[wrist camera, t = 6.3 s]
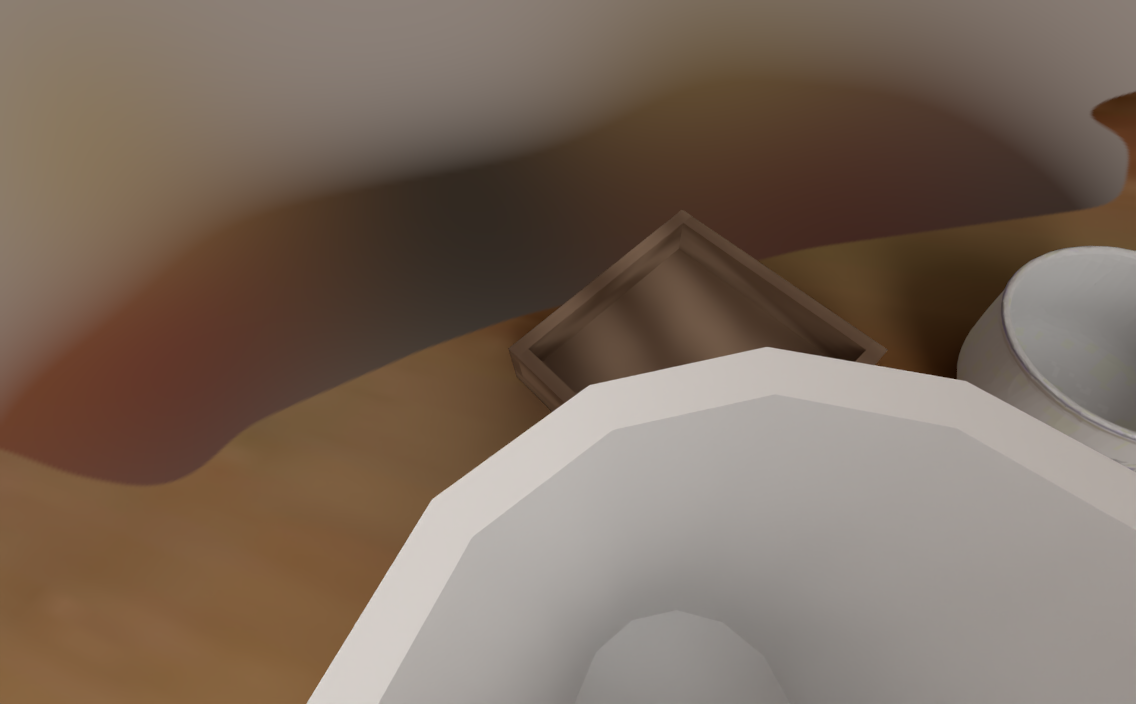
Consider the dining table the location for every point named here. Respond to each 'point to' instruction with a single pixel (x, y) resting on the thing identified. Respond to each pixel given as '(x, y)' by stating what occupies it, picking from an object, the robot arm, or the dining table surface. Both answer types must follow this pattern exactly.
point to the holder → (677, 316)
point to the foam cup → (764, 552)
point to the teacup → (1065, 347)
